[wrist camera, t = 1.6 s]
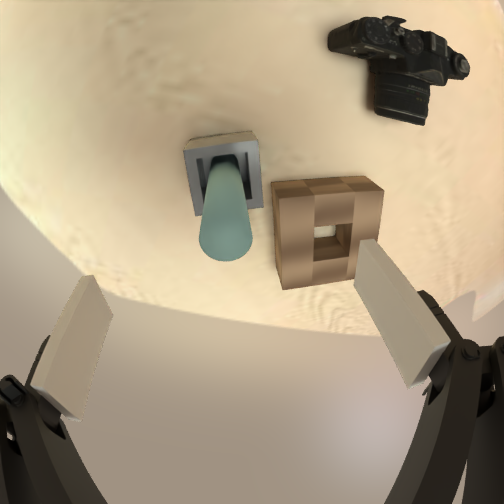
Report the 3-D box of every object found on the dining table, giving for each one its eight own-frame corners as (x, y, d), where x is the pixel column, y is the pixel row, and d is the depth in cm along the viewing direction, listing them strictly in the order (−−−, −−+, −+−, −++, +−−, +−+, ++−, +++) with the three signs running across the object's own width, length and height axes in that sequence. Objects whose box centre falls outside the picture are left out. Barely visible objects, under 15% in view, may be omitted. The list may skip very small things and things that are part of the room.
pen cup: (190, 139, 28) (183, 150, 23) (251, 130, 28) (257, 140, 23) (200, 193, 31) (195, 216, 26) (256, 186, 31) (263, 207, 26)
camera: (321, 104, 27) (362, 113, 18) (326, 20, 21) (368, -2, 12) (417, 124, 28) (470, 144, 20) (424, 52, 22) (478, 53, 14)
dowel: (209, 153, 28) (194, 219, 15) (237, 149, 28) (249, 211, 15) (212, 179, 30) (204, 264, 16) (239, 175, 30) (254, 257, 16)
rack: (271, 182, 31) (278, 198, 27) (364, 175, 32) (384, 190, 27) (276, 266, 38) (282, 290, 34) (356, 255, 38) (370, 275, 34)
